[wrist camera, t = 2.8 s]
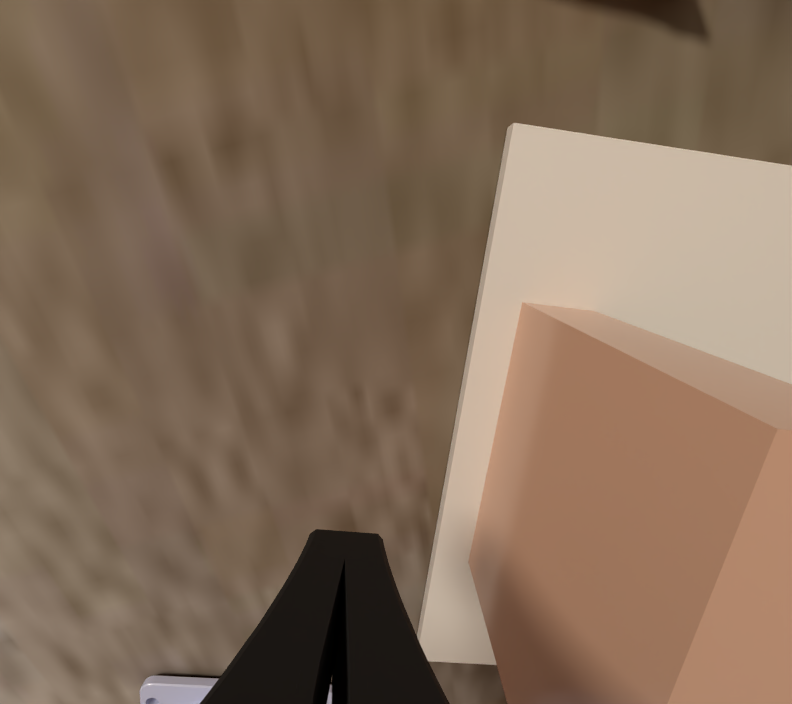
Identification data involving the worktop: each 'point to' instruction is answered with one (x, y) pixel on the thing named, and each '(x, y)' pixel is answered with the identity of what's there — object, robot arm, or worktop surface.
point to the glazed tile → (635, 521)
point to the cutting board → (606, 298)
